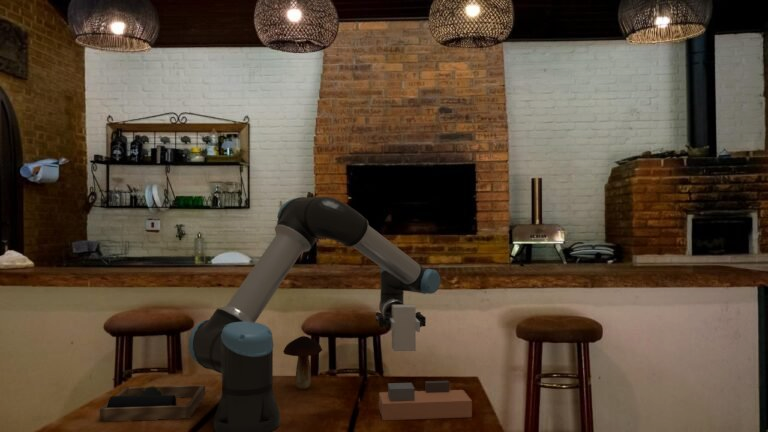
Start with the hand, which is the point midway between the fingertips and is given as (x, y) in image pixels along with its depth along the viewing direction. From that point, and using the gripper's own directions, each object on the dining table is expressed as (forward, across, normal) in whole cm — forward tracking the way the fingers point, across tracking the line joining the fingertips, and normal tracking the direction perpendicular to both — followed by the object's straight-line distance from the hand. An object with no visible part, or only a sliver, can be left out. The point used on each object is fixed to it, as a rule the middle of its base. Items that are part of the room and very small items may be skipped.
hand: (406, 327), depth 155 cm
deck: (+8, -3, -19) cm, 21 cm away
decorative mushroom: (-12, +28, -20) cm, 36 cm away
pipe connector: (+3, +67, -20) cm, 70 cm away
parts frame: (+1, +65, -19) cm, 68 cm away
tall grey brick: (-5, 0, -7) cm, 9 cm away
